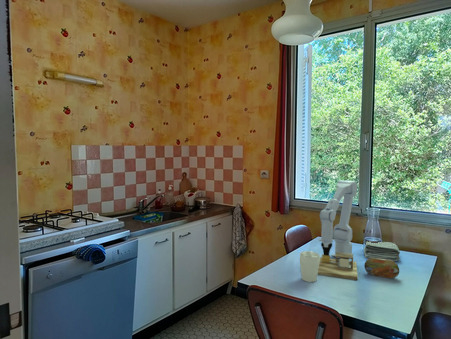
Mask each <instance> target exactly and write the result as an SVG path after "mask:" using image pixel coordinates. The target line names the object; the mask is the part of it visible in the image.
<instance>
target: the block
mask: <svg viewBox="0 0 451 339" xmlns="http://www.w3.org/2000/svg"><path fill="white" fill-rule="evenodd" d="M339 260H340V265H339V266H343V267H349V261H350V258H343V257H340V258H339Z"/></svg>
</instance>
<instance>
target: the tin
mask: <svg viewBox="0 0 451 339" xmlns="http://www.w3.org/2000/svg"><path fill="white" fill-rule="evenodd" d="M363 266H364V271H365V272H366V273H367V274H369V275H370V276H374V277H379V278H385V279H395V278H396V277H398V275H399V274H400V267H399V265H398V264H397V263H396V261H392V260H386V259H378V258H367V259H366V261H365V263H364V265H363Z"/></svg>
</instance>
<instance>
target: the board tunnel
mask: <svg viewBox="0 0 451 339" xmlns="http://www.w3.org/2000/svg"><path fill="white" fill-rule="evenodd" d="M337 257H343V258H349V259H351V260H349V261H350V269H348V268H341V267H338V264H337V262H338V260H340V258H337ZM319 258H320V263H319V269H318V274H317V275H319V276H320V275H321V276H327V277H334V278H339V279H340V278H342V279H348V280H355V281H358V277H359V275H358V268H357V261H354V253H352V254H347V253H339V252H336V257H335V258H331V257H330V261H334V262H336V264H332V263H324V262H322V256H319Z"/></svg>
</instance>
